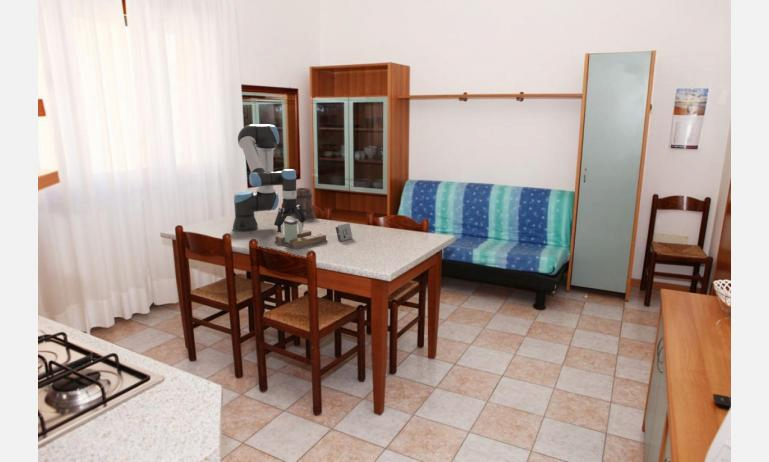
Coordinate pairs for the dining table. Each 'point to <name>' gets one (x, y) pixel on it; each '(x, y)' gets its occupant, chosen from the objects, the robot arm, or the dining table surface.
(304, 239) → the brown wooden tray
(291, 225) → the fader tab
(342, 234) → the electrical switch
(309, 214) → the tankard
